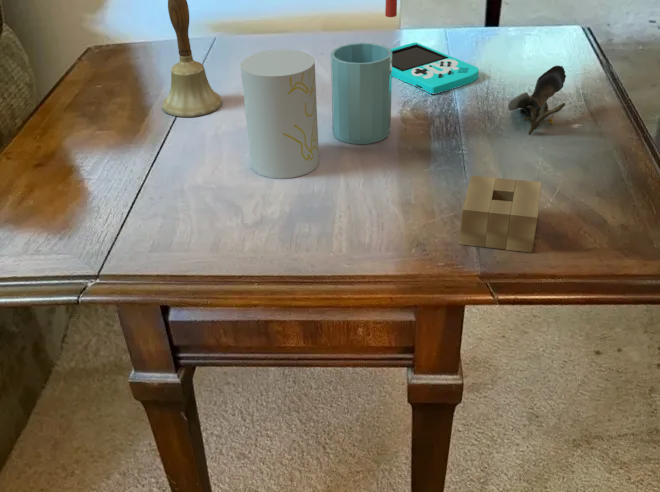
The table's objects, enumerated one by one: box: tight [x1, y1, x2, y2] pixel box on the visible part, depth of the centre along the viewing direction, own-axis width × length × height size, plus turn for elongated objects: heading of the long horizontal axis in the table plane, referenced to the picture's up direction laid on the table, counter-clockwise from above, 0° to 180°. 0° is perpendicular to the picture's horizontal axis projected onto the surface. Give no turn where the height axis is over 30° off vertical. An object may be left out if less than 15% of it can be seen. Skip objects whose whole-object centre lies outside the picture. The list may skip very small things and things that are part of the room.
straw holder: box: [458, 175, 543, 254], centre depth 76 cm, size 7×7×4 cm
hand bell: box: [161, 0, 223, 118], centre depth 101 cm, size 8×8×16 cm
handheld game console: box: [389, 41, 480, 93], centre depth 112 cm, size 10×16×1 cm, turn 33°
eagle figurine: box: [507, 65, 567, 136], centre depth 95 cm, size 8×7×9 cm
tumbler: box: [330, 42, 393, 145], centre depth 94 cm, size 7×7×10 cm
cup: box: [240, 49, 320, 180], centre depth 87 cm, size 8×8×12 cm
